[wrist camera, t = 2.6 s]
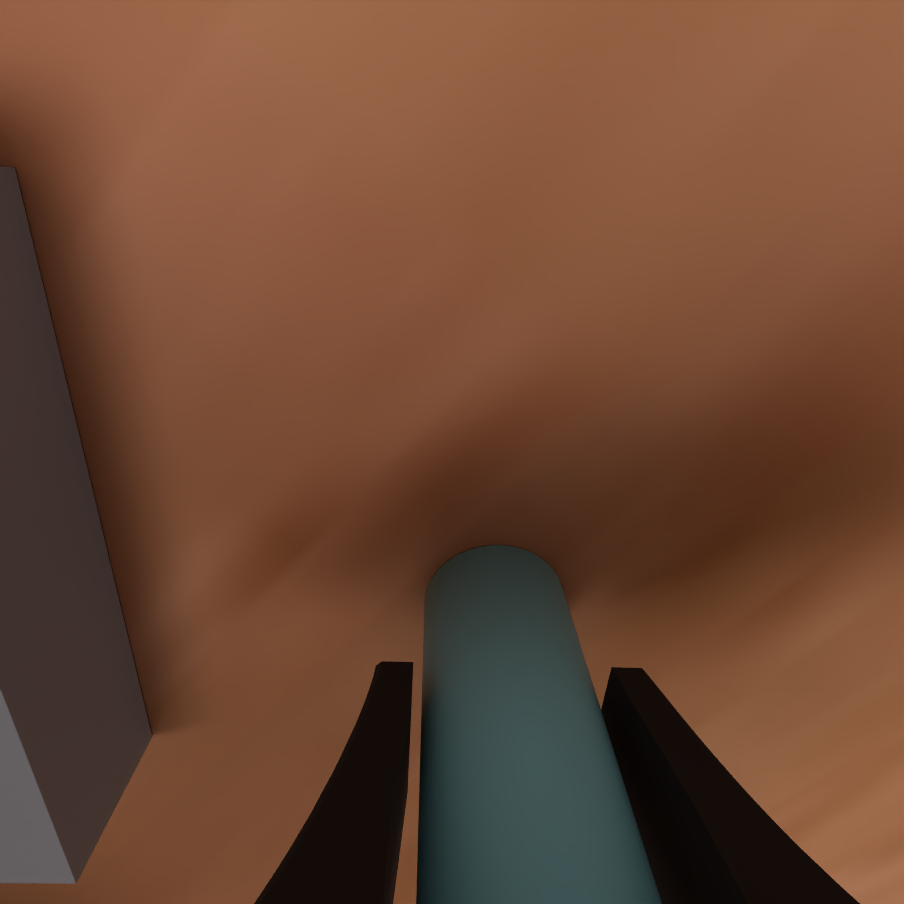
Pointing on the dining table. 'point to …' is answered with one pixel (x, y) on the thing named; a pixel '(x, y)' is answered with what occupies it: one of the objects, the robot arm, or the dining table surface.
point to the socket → (53, 600)
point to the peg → (517, 748)
